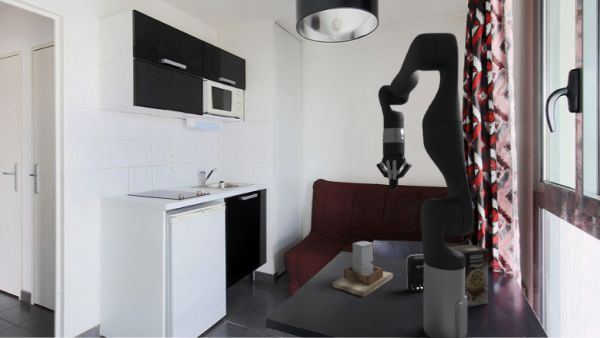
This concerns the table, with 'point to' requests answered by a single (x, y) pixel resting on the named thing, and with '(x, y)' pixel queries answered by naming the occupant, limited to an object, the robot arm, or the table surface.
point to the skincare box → (363, 257)
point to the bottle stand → (362, 281)
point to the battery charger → (415, 273)
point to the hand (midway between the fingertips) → (393, 189)
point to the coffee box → (475, 274)
